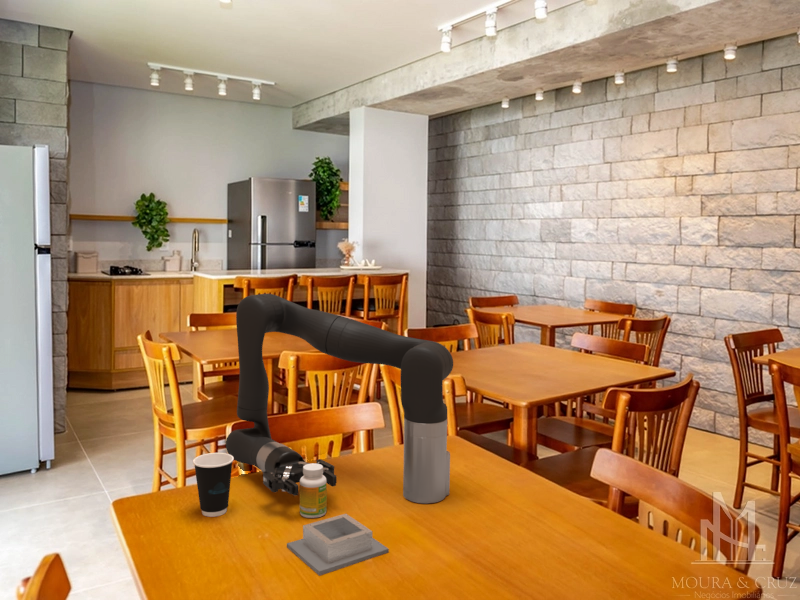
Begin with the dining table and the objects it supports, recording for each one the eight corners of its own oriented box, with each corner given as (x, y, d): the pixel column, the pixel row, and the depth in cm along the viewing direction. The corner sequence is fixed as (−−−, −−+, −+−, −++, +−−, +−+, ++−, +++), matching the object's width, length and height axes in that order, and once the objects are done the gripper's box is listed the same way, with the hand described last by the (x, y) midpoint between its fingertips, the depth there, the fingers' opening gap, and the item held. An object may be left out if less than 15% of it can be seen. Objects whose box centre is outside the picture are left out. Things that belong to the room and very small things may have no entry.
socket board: (352, 530, 127) (353, 507, 127) (388, 555, 118) (388, 530, 117) (286, 549, 119) (286, 525, 119) (319, 578, 109) (319, 552, 109)
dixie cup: (218, 523, 128) (217, 468, 127) (185, 516, 131) (184, 462, 130) (242, 507, 136) (241, 455, 135) (210, 501, 138) (209, 450, 137)
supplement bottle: (321, 520, 130) (321, 472, 129) (295, 517, 131) (295, 470, 130) (330, 508, 135) (330, 463, 134) (305, 506, 137) (304, 460, 135)
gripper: (249, 452, 140) (283, 475, 127) (308, 440, 149) (346, 460, 136) (249, 486, 141) (284, 512, 128) (308, 472, 149) (346, 496, 136)
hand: (316, 486), depth 132 cm, fingers open, 8 cm apart
